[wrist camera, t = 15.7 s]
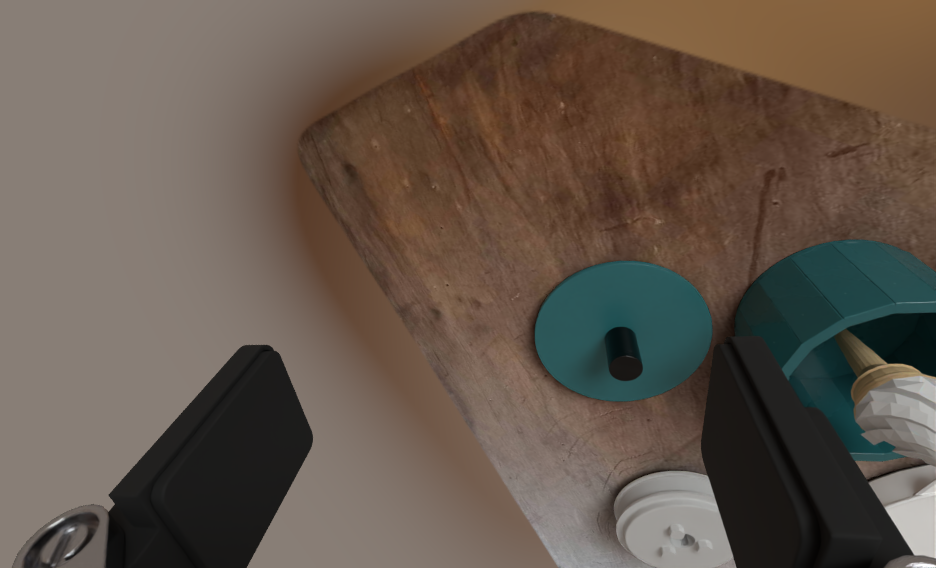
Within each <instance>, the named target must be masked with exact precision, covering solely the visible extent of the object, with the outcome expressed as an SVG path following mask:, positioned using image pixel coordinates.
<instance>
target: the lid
mask: <svg viewBox="0 0 936 568" xmlns="http://www.w3.org/2000/svg"><path fill="white" fill-rule="evenodd" d="M614 514H615V518H616V520H617V523H616V533H617V537H618V540H619V542H620V543H621V545H622V546H623V547H624V548H625V549H626V551H628V552H629V553H630V554H631V555H633V556H635V557H636V558H638V559H640V560H641V561H643V562H644V563H647V564H649V565H651V566H654V567H657V568H715V567H718V566H720V565H722V564H724V563H726V562H728V561H729V560H731V559H732V558H733V554H732V551H731V548H730V545H729V541H728V538H727V535H726V532H725V529H724V525H723V522H722V519H721V516H720V513H719V509H718V506H717V503H716V500H715V497H714V494H713V490H712V487H711V484H710V481H709V478H708V476H707V475H703V474H699V473H694V472H688V471H665V472H658V473H653V474H649V475H646V476H643V477H641V478H638V479H636V480H634V481H633V482H631V483H629V484H628V485H627V486H625V487H624V488H623V489H622V490H621V491H620V492H619V494H618V495H617V497H616V500H615V503H614Z"/></svg>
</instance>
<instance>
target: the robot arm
mask: <svg viewBox="0 0 936 568" xmlns="http://www.w3.org/2000/svg"><path fill="white" fill-rule="evenodd" d="M312 442H313V435H312V431H311V429H310V426H309V424H308V422H307V419H306V417H305V415H304V412H303V409H302V407H301V405H300V402H299V400H298V397H297V395H296V392H295V390H294V388H293V385H292V383H291V381H290V378H289V376H288V373H287V371H286V368H285V366H284V363H283V361H282V359H281V356H280V354H279V353H278V352H276V351H274V350H273V348H272V347H271V346H269V345H245V346H242V347H241V348H239V349H238V351H237V352H236V353H235V354H234V355H233V356H232V357H231V358H230V359H229V361H228V362H227V363H226V364H225V365H224V366H223V367H222V368H221V370H220V371H219V372H218V373H217V374H216V375H215V376H214V377H213V378H212V380H211V381H210V382H209V383H208V384H207V385H206V386H205V387H204V389H203V390H202V391H201V392H200V393H199V394H198V395H197V397H196V398H195V399H194V400H193V401H192V402H191V403H190V404H189V405H188V406H187V408H186V409H185V410H184V411H183V412H182V413H181V415H179V417H178V418H177V419H176V420H175V421H174V422H173V423H172V424H171V426H170V427H169V428H168V429H167V430H166V431H165V432H164V433H163V435H162V436H161V437H160V438H159V439H158V440H157V441H156V443H154V445H153V446H152V447H151V448H150V449H149V450H148V451H147V453H146V454H145V455H144V456H143V457H142V458H141V459H140V460H139V461H138V463H137V464H136V465H135V466H134V467H133V468H132V469H131V470H130V472H129V473H128V474H127V475H126V476H125V477H124V478H123V479H122V481H121V482H120V483H119V484H118V485H117V486H116V487H115V488H114V489H113V491H112V492H111V493H110V494H109V497H110V498H111V499H112V500H113V502H114V503H115V505H114V506H113V507H112V509H111V510H110V511H109V512H108V511H107V510H106V509H105V508H104V507H103V506H100V505H94V504H91V505H85V506H80V507H78V508H75V509H72V510H69V511H67V512H65V513H63V514H61V515H60V516H58V517H56V518H54V519H53V520H51V521H50V522H48V523H47V524H46V525H44V526H43V527H42V528H40V529H39V530H38V531H37V532H36V533H35V534H34V535H33V536H32V537H31V538H30V539H29V540H28V541H27V542H26V543H25V544H24V546H23V547H22V548H21V550H20V551H19V552H18V554H17V556H16V559H15V561H14V563H13V566H12V568H247V566H248V564H249V562H250V560H251V559H252V557H253V555H254V553H255V551H256V549H257V547H258V546H259V544H260V542H261V540H262V538H263V536H264V534H265V533H266V530H267V529H268V527H269V525H270V523H271V521H272V519H273V518H274V516H275V514H276V512H277V510H278V508H279V506H280V505H281V503H282V501H283V499H284V497H285V496H286V494H287V492H288V490H289V488H290V486H291V484H292V482H293V481H294V479H295V477H296V475H297V473H298V471H299V469H300V468H301V466H302V464H303V462H304V460H305V458H306V457H307V455H308V453H309V451H310V449H311V447H312ZM701 451H702V458H703V462H704V465H705V468H706V471H707V474H708V478H709V481H710V484H711V487H712V490H713V494H714V497H715V500H716V503H717V506H718V509H719V513H720V516H721V519H722V522H723V525H724V529H725V532H726V535H727V538H728V541H729V545H730V548H731V551H732V554H733V557H734V561H735V564H736V567H737V568H936V558H932V557H928V556H924V555H914V553H913V552H912V550H911V549H910V547H909V546H908V544H907V542H906V541H905V539H904V538H903V536H902V535H901V533H900V531H899V530H898V528H897V527H896V525H895V524H894V522H893V520H892V519H891V517H890V516H889V514H888V513H887V511H886V509H885V508H884V506H883V505H882V503H881V502H880V500H879V498H878V497H877V495H876V494H875V492H874V491H873V489H872V487H871V486H870V484H869V483H868V481H867V480H866V478H865V476H864V475H863V473H862V472H861V470H860V469H859V467H858V465H857V464H856V462H855V461H854V459H853V458H852V456H851V454H850V453H849V451H848V450H847V448H846V447H845V445H844V443H843V442H842V440H841V439H840V437H839V436H838V434H837V433H836V431H835V429H834V428H833V426H832V425H831V423H830V422H829V420H828V418H827V417H826V416H825V415H824V413H823V412H822V411H821V410H819V409H818V408H816V407H804V406H803V404H802V403H801V401H800V399H799V398H798V396H797V394H796V393H795V391H794V389H793V388H792V386H791V384H790V383H789V381H788V379H787V378H786V376H785V374H784V373H783V371H782V369H781V367H780V366H779V364H778V362H777V361H776V359H775V357H774V356H773V354H772V352H771V351H770V349H769V347H768V346H767V344H766V342H765V341H764V339H763V338H762V337H760V336H738V337H727V338H726V339H725V342H724V344H717V345H715V347H714V352H713V359H712V367H711V374H710V381H709V388H708V396H707V403H706V410H705V417H704V425H703V432H702V439H701Z"/></svg>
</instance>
